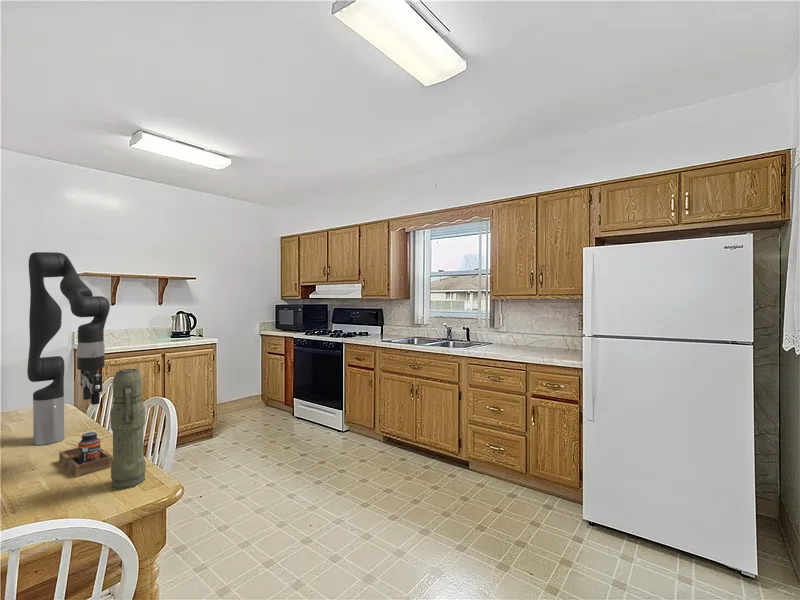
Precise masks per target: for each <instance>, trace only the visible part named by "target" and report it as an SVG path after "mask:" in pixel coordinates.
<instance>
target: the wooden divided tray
mask: <svg viewBox="0 0 800 600" xmlns="http://www.w3.org/2000/svg"><path fill="white" fill-rule="evenodd" d="M58 453H59V455H58V456H59V457H58V460H59V464H61V465H62V466H63V467H64V468H65V469H67V471H69V472H70V474H71V475H73V476H74V477H75V478H79V477H82V476H86V475H88V474H93V473H97V472H100V471H103V470H107V469H111V466H112V462H113V455H111V454H110V453H108V451H106V450H104V449H102V448H101V447H100V459H98V460H94V461H91V462H87V463H83V464H80V465H79V464H78V447H73V448H70V449H66V450H65V449H64V450H63V451H62V450H61V451H59V452H58Z"/></svg>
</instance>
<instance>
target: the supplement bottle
mask: <svg viewBox="0 0 800 600" xmlns="http://www.w3.org/2000/svg"><path fill="white" fill-rule="evenodd" d="M97 432H98V431H97ZM97 432H96V431H91V432H86V433H82V435H81V440H80V441H79V442H78V444H77V445H78V446H77V448H78V464H79V465H80V464H83V463H87V462H91V461H94V460H98V459H100V448H101V439H100V438H99V437H98V433H97Z"/></svg>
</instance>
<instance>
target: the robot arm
mask: <svg viewBox="0 0 800 600" xmlns="http://www.w3.org/2000/svg"><path fill="white" fill-rule="evenodd" d="M60 277H61V278H62V277H63V278H62V279H61V280H60V283H59V288H60V289H59V290H60V292H61V293H62V295H63V296H64V297H65V299H67V300H68V302H69V305H70V311H71V313H72V315H74V316H75V317H78V318H92V320H91V321H90V322H88V323H84V324H81V325H79V326H78V327H77V347H76V369H77V370H78V371H80V383H79V384H80V387H81V389H82V399H83V400H85V401H86V400H90V404H91V405H92V406H94V405H99V404H100V402H101V401H100V400H101V399H100V394H101V393H102V392H103V374H102V373H99V370H100V369H103V368H105V363H106V361H105V356H106V355H105V354H106V353H105V350H106V349H105V344H104V342H105V340H104V339H105V338H104V333H105V332H104V329H105V325H106V321H107V320H108V315H109V313H110V309H111V306H110V305H111V304H110V301H109V299H107V297H105V296H101V295H96V296H95V295H94V294H93V292H92V290H91V289H90V287H88V286H87V284H85V283H84V282H83V280H82V279H81V278H80V276H79V274H78V272H77V270H76V268H75V267H74V264H72V261H71V259H69V257H68V256H67V255H66V254H65V253H62V252H56V251H55V252H54V251H53V252H47V251H46V252H45V251H44V252H43V251H39V252H37V251H35V252H32V253H31V254H30V255H29V258H28V278H29V287H30V290H29V291H30V297H29V298H30V301H29V317H28V318H29V319H28V321H29V323H28V324H29V325H28V326H29V329H28V330H29V346H28V347H29V348H28V359H27V370H26V373H27V379H28V380H29V381H30V383H31V382H32V383H39V382H45V381H46V382H48V381H52V382H51V383H50V384H48V385H47V386H44V387H42V388H39V389H37V390H35V391H34V392H33V393H32V421H33V423H32V424H33V429H32V430H33V434H32V435H33V445H36V446H44V445H50V444H55V443H58V442H60V441H63V440H64V439H65V393H64V392H65V390H64V389H65V388H64V385H65V382H64V380H65V368H66V367H65V365H66V364H65V360H64V358H63V356H60V355H57V356H56V355H55V356H44V357H41V355H42V353H43V351H44V349H45V347H46V346H47V344H48V343H49V342H50V341H52V339H53V338H54V337H56V335H57V333H58V332H59V331H60V330H61V327H62V318H63V317H62V313H63V312H62V308H61V306H60V305H59V304H58V303H57V301H56V300H55V299H54V298H53V297H52V296H51V294H50V292H48V291H47V288H46V287H45V281H44V280H45V278H60Z"/></svg>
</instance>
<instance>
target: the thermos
mask: <svg viewBox="0 0 800 600" xmlns="http://www.w3.org/2000/svg"><path fill="white" fill-rule="evenodd" d="M143 389H144V388H143V376H142V374H141V371H140V370H139V369H137V368H125V369H120V370H118V371H117V372H116V371H115V374H114V377H113V380H112V398H113V401H112V407H111V410H110V430H111V431H112V456H113V462H112V466H111V468H110V479H111V488H112V489H113V490H128V489H131V488H130V487H132V488H134V487H133V486H135V487H137V486H136V485H138V484H140V483H142V482H143V481H144V480H145V481H146V470H147V469H146V467H147V464H146V463H147V462H146V459H145V457H144V450H145V448H144V427H145V424H146V406H145V403H144V401H143V400H144V399H143ZM145 481H144V482H145ZM144 482H143V483H144ZM143 483H142V484H143ZM140 485H141V484H140ZM138 486H139V485H138ZM127 488H128V489H127Z"/></svg>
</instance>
